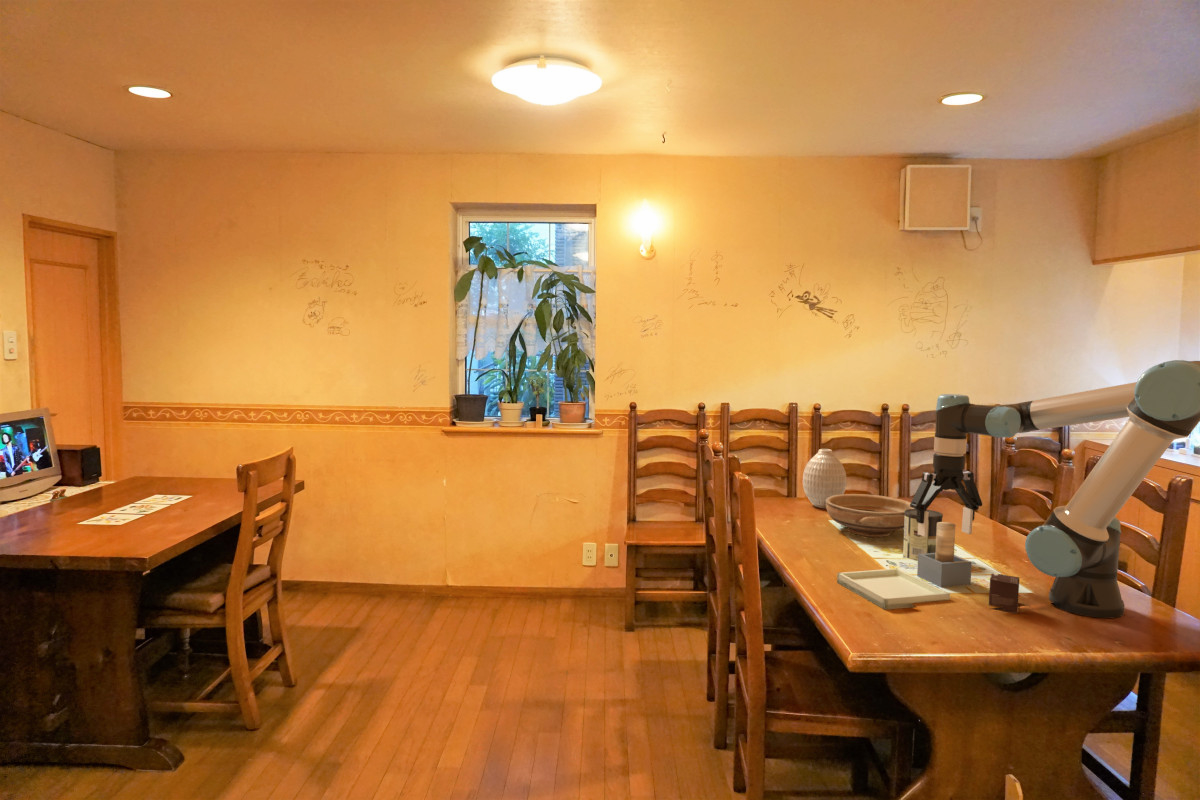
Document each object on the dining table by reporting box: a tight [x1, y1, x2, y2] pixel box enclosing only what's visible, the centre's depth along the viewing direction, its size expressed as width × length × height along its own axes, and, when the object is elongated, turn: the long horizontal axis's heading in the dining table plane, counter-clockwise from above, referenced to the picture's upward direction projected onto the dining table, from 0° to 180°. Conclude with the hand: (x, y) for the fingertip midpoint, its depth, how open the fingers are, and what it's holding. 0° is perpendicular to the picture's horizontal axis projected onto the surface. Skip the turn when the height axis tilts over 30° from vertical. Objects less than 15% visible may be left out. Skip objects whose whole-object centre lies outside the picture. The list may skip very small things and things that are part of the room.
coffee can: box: [902, 509, 944, 562], centre depth 211 cm, size 10×10×14 cm
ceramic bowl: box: [825, 493, 915, 538], centre depth 242 cm, size 37×29×10 cm
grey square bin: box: [916, 553, 973, 588], centre depth 190 cm, size 9×9×7 cm
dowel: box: [935, 521, 956, 563], centre depth 189 cm, size 4×4×15 cm
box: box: [988, 573, 1020, 614], centre depth 173 cm, size 6×6×7 cm
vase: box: [802, 448, 847, 509], centre depth 280 cm, size 16×16×22 cm
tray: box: [836, 567, 951, 611], centre depth 183 cm, size 20×18×3 cm
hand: (944, 534), depth 189 cm, fingers open, 13 cm apart
